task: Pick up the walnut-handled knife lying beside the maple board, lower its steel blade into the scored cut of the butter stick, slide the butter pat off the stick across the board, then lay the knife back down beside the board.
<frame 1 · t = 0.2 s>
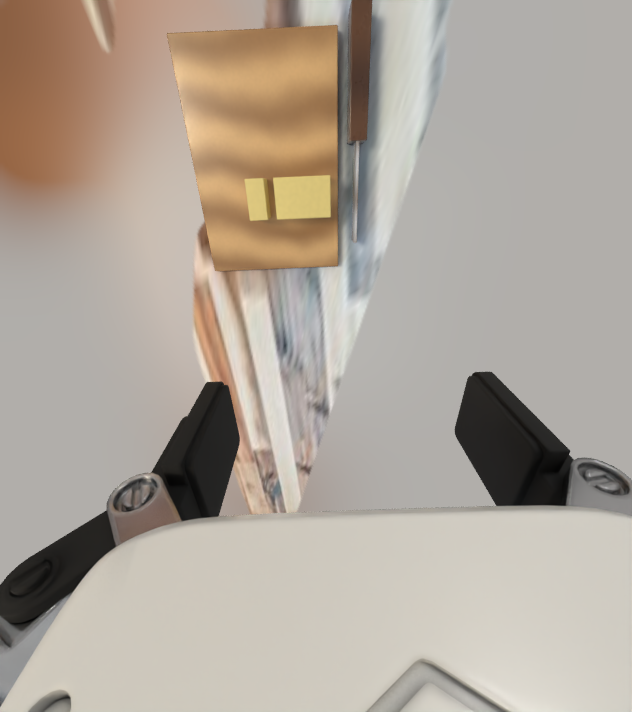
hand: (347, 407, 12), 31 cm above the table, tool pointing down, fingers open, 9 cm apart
butter: (303, 197, 34), resting on board
knife: (355, 143, 33), on the table
butter pat: (260, 199, 34), point 1 cm above the table, touching board
board: (267, 169, 34), on the table
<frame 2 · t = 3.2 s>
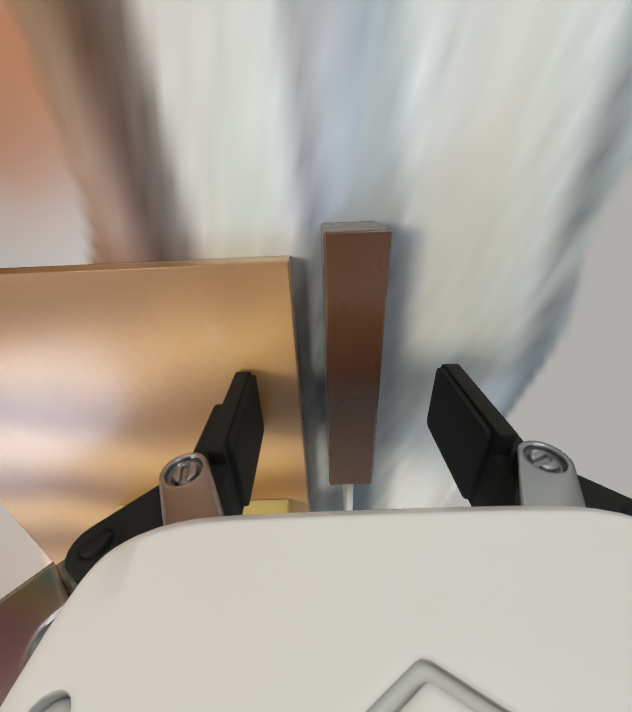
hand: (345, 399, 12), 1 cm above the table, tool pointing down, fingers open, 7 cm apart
butter: (238, 523, 16), resting on board
knife: (344, 440, 15), on the table
board: (158, 474, 16), on the table
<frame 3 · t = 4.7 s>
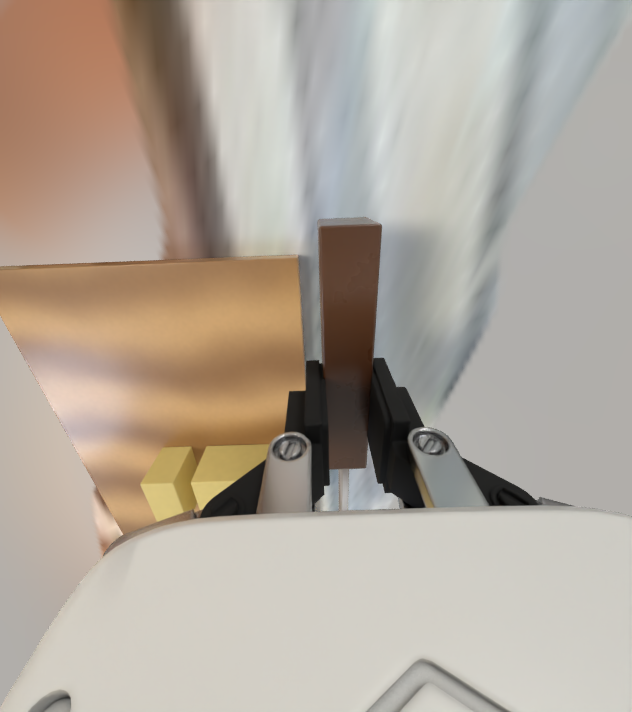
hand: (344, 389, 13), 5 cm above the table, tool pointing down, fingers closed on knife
butter: (254, 465, 21), resting on board
knife: (341, 428, 15), point 4 cm above the table, touching gripper
butter pat: (184, 467, 21), point 1 cm above the table, touching board
board: (193, 424, 20), on the table
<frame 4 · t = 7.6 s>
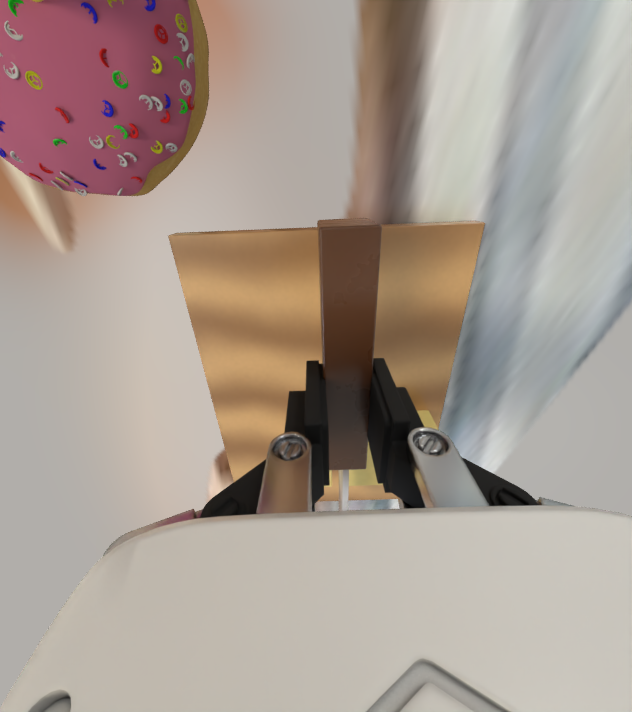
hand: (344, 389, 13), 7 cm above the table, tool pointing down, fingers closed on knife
birthday cake: (140, 85, 13), on the table
butter: (383, 432, 22), resting on board
knife: (341, 429, 15), point 6 cm above the table, touching gripper
board: (328, 393, 21), on the table
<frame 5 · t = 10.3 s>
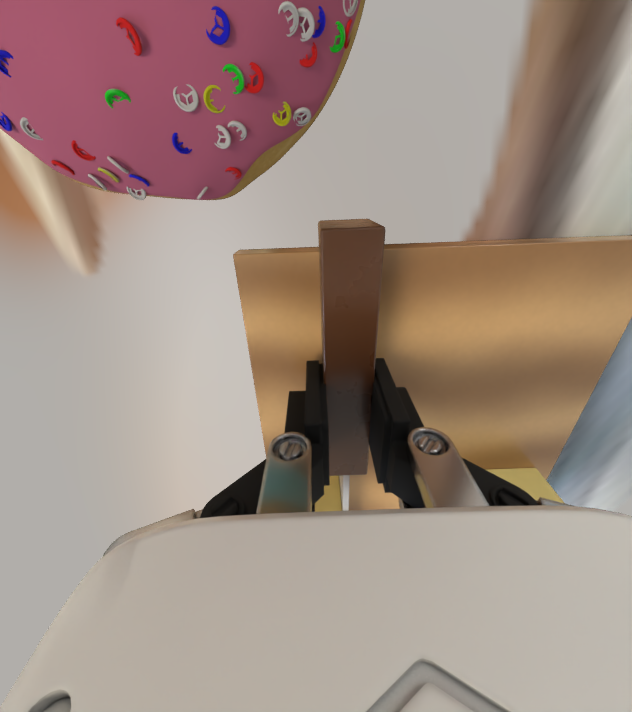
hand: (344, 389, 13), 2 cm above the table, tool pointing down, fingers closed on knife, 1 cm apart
birthday cake: (207, 39, 9), on the table
butter: (474, 491, 18), resting on board
knife: (341, 433, 15), point 1 cm above the table, touching board, butter pat, gripper
butter pat: (321, 495, 18), point 1 cm above the table, touching board, knife
board: (408, 444, 17), on the table
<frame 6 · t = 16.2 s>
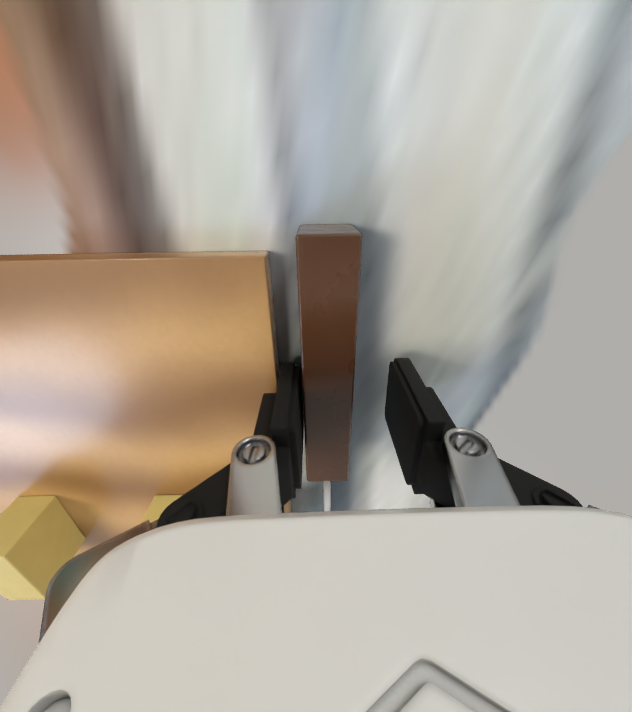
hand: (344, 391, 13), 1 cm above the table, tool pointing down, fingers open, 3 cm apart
butter: (218, 516, 17), resting on board
knife: (325, 437, 15), on the table
butter pat: (54, 518, 16), point 1 cm above the table, touching board
board: (139, 466, 16), on the table
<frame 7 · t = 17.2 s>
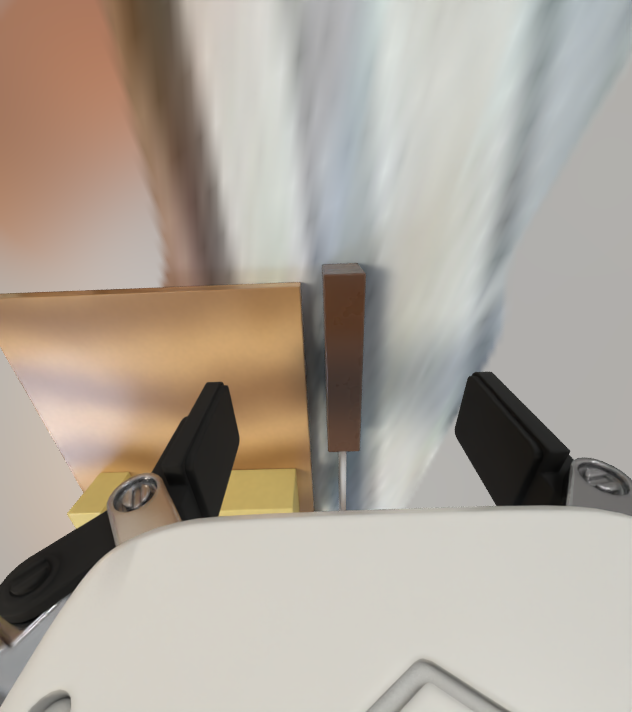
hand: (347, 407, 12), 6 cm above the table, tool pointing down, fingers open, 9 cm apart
butter: (254, 489, 20), resting on board
knife: (340, 422, 19), on the table
butter pat: (124, 492, 21), point 1 cm above the table, touching board
board: (193, 448, 20), on the table
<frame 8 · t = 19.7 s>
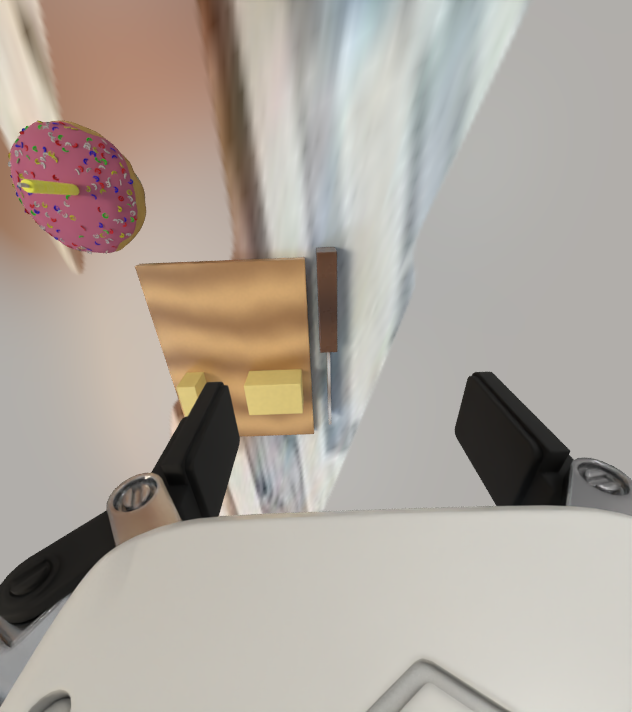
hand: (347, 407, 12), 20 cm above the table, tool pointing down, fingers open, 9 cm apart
birthday cake: (118, 193, 26), on the table
butter: (277, 384, 34), resting on board
knife: (327, 341, 33), on the table
butter pat: (199, 386, 34), point 1 cm above the table, touching board
board: (240, 359, 34), on the table
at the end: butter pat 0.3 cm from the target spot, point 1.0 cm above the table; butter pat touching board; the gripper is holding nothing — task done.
